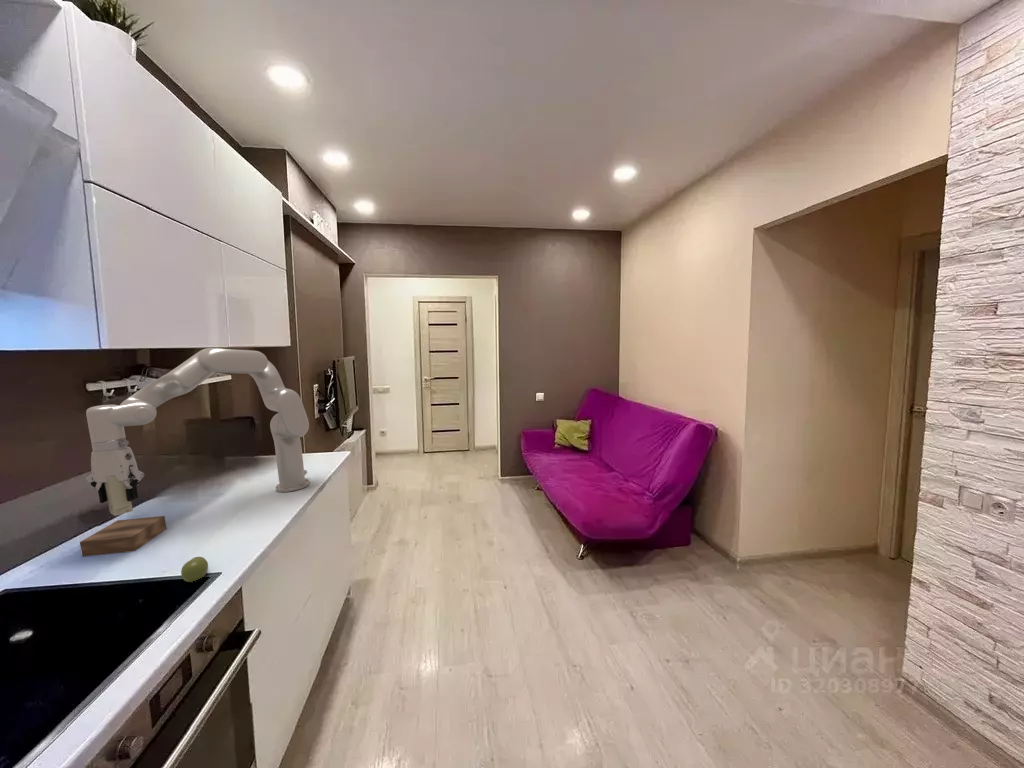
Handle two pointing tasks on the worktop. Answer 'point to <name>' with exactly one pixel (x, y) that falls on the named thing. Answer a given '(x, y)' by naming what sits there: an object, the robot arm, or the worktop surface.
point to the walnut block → (123, 536)
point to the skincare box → (117, 497)
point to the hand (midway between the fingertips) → (119, 500)
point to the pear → (194, 569)
